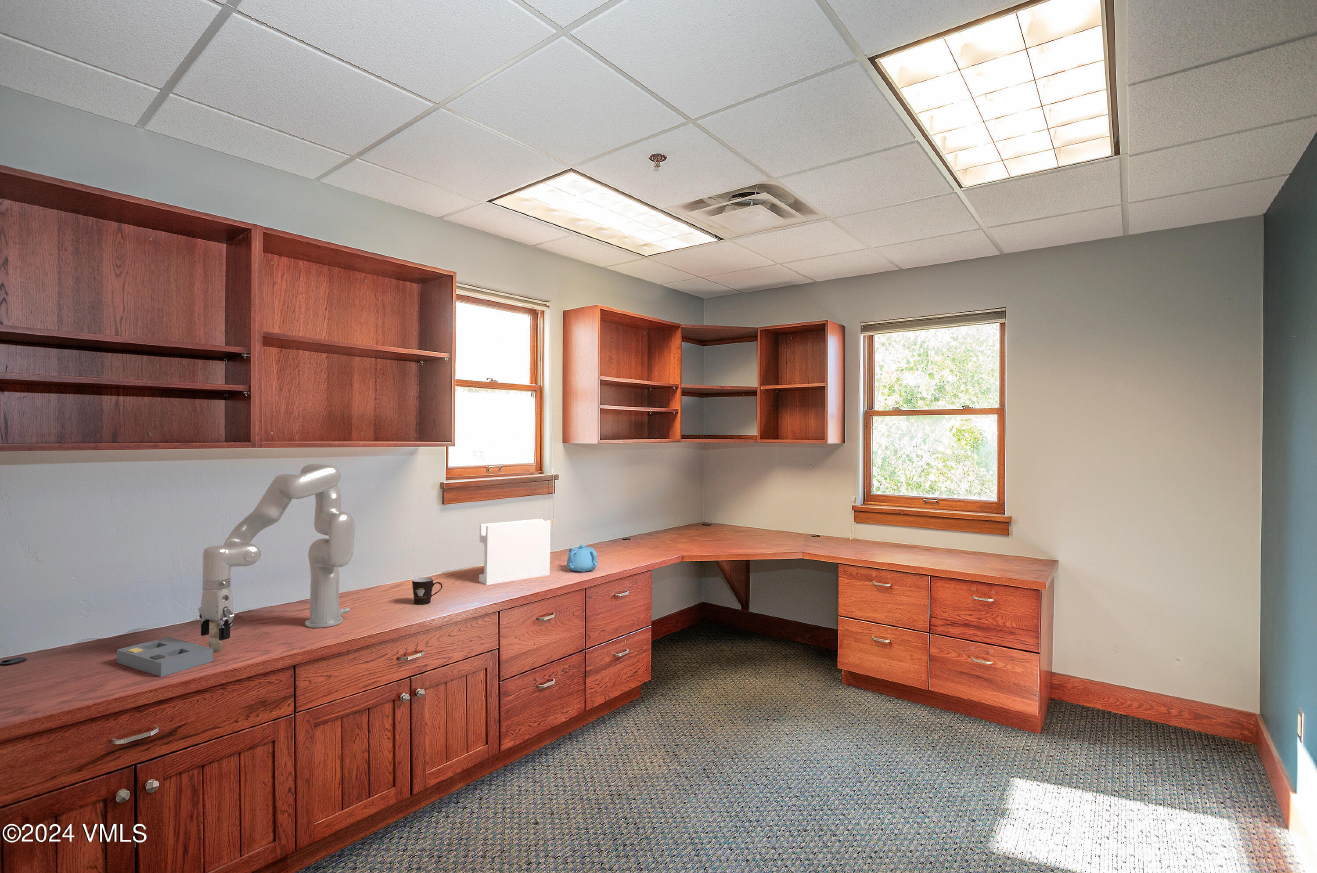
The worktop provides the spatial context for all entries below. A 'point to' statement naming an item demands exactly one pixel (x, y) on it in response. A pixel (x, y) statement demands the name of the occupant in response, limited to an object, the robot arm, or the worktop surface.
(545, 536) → the block
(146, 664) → the socket block
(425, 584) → the coffee mug
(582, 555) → the decorative pot
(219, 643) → the plug
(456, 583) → the worktop surface
